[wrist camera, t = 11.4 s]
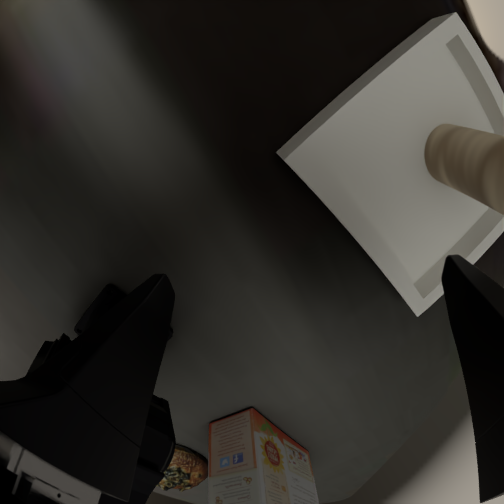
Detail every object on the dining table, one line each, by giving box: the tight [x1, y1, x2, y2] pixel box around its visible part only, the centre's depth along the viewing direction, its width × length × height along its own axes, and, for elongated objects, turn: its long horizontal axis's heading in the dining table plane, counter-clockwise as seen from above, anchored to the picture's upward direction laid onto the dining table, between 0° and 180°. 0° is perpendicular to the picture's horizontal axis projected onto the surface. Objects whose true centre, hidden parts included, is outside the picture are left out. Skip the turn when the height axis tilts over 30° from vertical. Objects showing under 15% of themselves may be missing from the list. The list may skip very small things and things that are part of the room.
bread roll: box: [157, 445, 208, 492], centre depth 33 cm, size 11×11×5 cm
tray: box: [276, 12, 504, 317], centre depth 19 cm, size 16×16×3 cm
